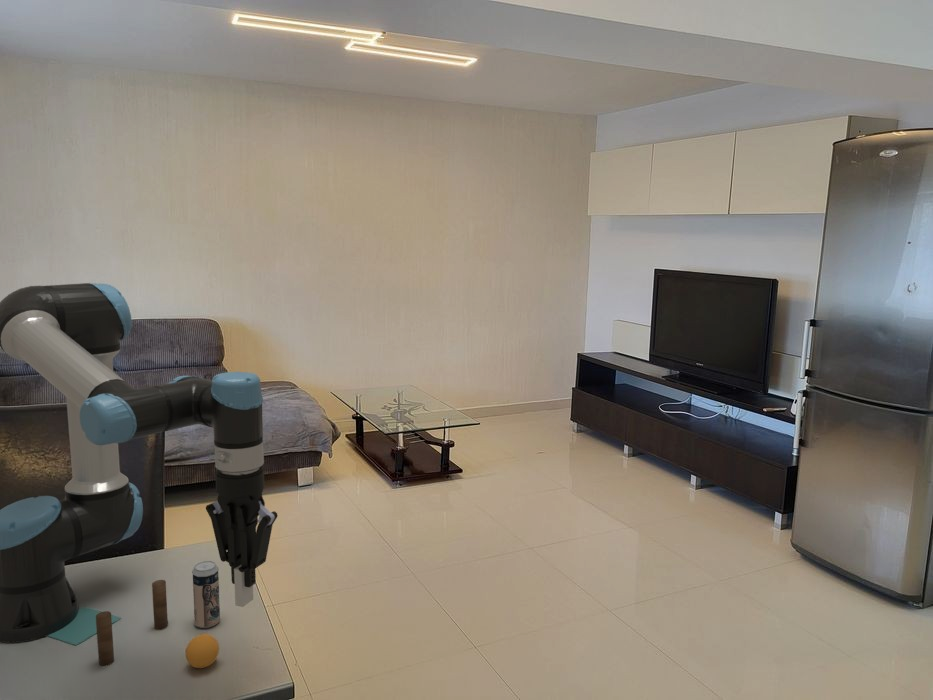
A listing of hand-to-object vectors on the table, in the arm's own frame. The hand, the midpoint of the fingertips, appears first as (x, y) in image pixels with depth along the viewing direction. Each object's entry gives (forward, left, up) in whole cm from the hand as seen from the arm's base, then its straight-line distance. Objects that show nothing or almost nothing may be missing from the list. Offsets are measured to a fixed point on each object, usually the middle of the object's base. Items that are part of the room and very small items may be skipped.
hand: (244, 602), depth 117 cm
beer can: (-18, +11, -15) cm, 26 cm away
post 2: (-26, +6, -14) cm, 30 cm away
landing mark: (-40, 0, -14) cm, 42 cm away
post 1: (-26, -6, -14) cm, 30 cm away
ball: (-10, 0, -12) cm, 15 cm away
